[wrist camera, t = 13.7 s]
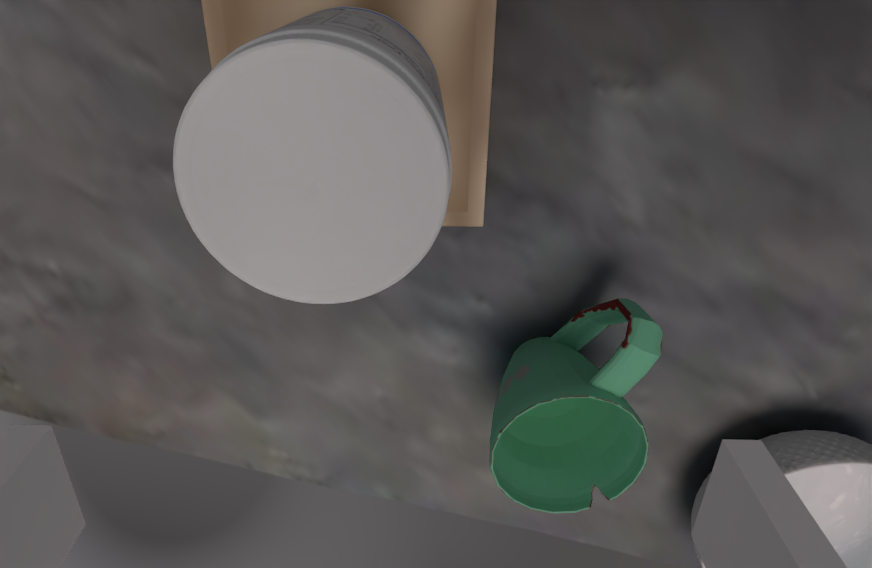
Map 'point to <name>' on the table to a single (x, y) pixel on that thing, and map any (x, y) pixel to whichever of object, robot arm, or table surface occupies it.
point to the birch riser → (447, 48)
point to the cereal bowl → (826, 487)
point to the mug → (573, 413)
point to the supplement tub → (318, 157)
